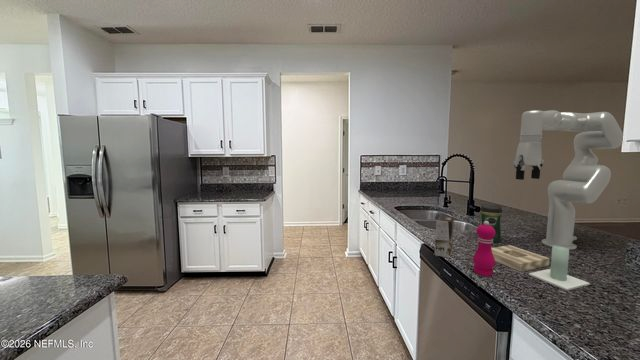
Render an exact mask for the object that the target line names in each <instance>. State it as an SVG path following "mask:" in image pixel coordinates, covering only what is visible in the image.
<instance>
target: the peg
mask: <svg viewBox="0 0 640 360" xmlns="http://www.w3.org/2000/svg"><path fill="white" fill-rule="evenodd" d="M569 259H570V250H569V249H568V248H565V247H561V246H552V247H551V257H550V268H549V269H550V277H551V278H553V279H556V280H559V281H566V280H567V275H568V270H569V268H568V267H569Z"/></svg>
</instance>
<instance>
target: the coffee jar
mask: <svg viewBox="0 0 640 360" xmlns="http://www.w3.org/2000/svg"><path fill="white" fill-rule="evenodd" d="M479 211H480V213H479V214H480V217H481V218H480V225H484V221H488V222H489V225H490V226H492V227H493V228H494V229H495V236H494V237H493V243H499V242H501V240H502V231H501V219H502V218H501V217H502V216H503V208H502V206H501V205H500V204H492V203H491V204H489V203H482V204H481V207H480V210H479Z"/></svg>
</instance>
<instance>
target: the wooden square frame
mask: <svg viewBox="0 0 640 360" xmlns="http://www.w3.org/2000/svg"><path fill="white" fill-rule="evenodd" d="M491 250H492V253H493V256H494V258H495V263H496V262H497V263H499V264H501V265H504V266H505V267H506V266H507V267H509V268H511V269H513V270H516V271H519V272H524V271H529V270H533V269H534V270H535V269H538V268H543V267H548V266H550V257H547V256H543V255H542V254H541V255H540V254H537V253H535V252H531V251H528V250H525V249H523V248H519V247H517V246H514V245H512V244H511V245H510V244H509V245H502V246H496V247H491Z"/></svg>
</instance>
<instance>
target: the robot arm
mask: <svg viewBox="0 0 640 360" xmlns="http://www.w3.org/2000/svg"><path fill="white" fill-rule="evenodd" d="M520 120H521V123H520V135H519V143H518V146H517V148H516V154H515V159H514V160H513V164H514V169H515V180H522V181H523V180H525V171H526V170H525V168H526V167H531V168H532V169H531V175H530V177H531V179H535V180H536V179H537V180H539V179H540V177H541V170H542V167H543V165H544V162H545V160H544V158H543V156H542V155H543V154H542V153H543V151H542V149H543V148H542V142H543V141H542V140H543V131H549V132H550V131H551V132H552V131H553V132H576V133H577V134H576V135H575V136H574V139H573V148H574V154H575V155H574V157H573V159H572V160H571V162H570V163H569V164H568V166H567V167H566V168H565V170H564V171H563V174H562V179H558V180H554V181H553V180H552V181H551V182H550V183H549V184H548V185H547V196H548V215H547V226H546V235H545V238H544V239H542V240H541V243H542V244H543V245H545V246H548V247H550V248H552V246H561V247H565V248H568V249H569V251H570V250H572V251H573V250H576V249H577V244H575V243H573V242H574V241H577V239H578V238H577V236H575V235H574V233H575V232H574V231H575V220H576V208H575V206H574V205H573V203H578V204H587V205H588V204H589V205H590V204H593V203H595V202H596V201H597V199H599V197H601V194H602V193H603V191H604V190H605V189H606V187H608V185H609V183H610V181H611V177H612V172H611V170H610V168H609V167H608V166H606V165H603V164H602V165H601V164H598V162H599V159H598V156H597V155H596V154H595V153H594V152H593V150H612V149H613V150H614V149H617V148H619V147H621V146H622V145H623V143H622V141H623V136H624V133H623V131H622V130H621V127H620V126H619V123H618V122H617V120H616V118H615V117H614V116H613V114H612V113H610V112H608V111H598V112H597V111H596V112H588V113H586V112H585V113H582V112H581V113H580V112H571V111H563V112H560V111H558V110H555V109H552V110H550V109H549V110H544V111H543V110H538V109H537V110H527V111H524V112H523V113H522V115H521V119H520ZM623 142H624V141H623Z"/></svg>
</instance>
